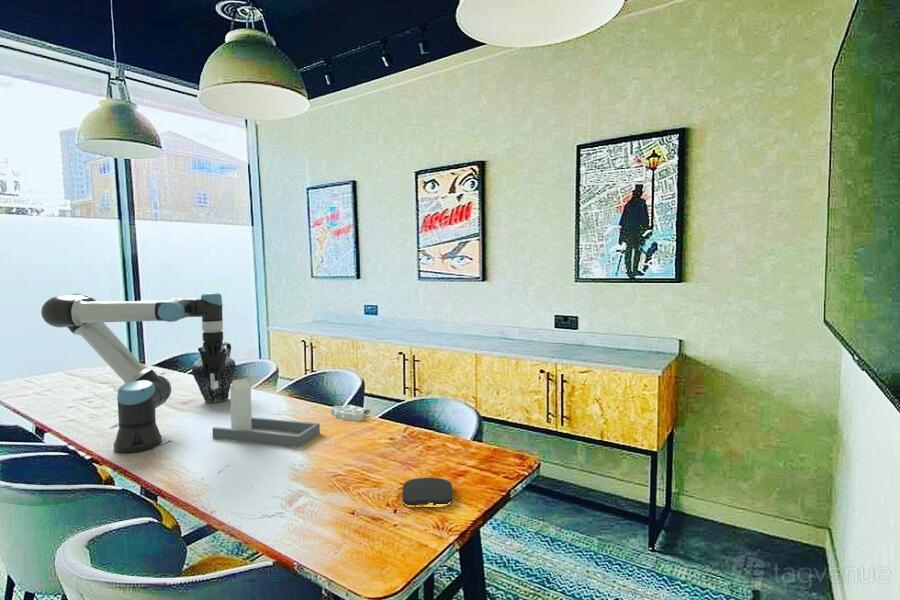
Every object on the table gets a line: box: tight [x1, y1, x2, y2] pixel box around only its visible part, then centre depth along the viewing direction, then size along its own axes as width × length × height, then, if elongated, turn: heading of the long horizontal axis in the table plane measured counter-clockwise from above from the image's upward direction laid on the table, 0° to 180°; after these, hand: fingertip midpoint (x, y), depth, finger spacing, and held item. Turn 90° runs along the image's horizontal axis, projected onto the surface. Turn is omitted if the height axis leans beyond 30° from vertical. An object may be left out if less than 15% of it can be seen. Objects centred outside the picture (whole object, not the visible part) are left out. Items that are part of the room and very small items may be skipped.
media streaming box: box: [402, 477, 453, 506], centre depth 146 cm, size 15×15×3 cm
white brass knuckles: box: [330, 404, 371, 422], centre depth 223 cm, size 3×18×15 cm
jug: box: [191, 341, 236, 403], centre depth 244 cm, size 21×19×30 cm
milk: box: [229, 378, 253, 431], centre depth 198 cm, size 6×6×22 cm
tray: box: [212, 416, 321, 448], centre depth 196 cm, size 16×38×4 cm, turn 76°
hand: (214, 388), depth 200 cm, fingers closed
